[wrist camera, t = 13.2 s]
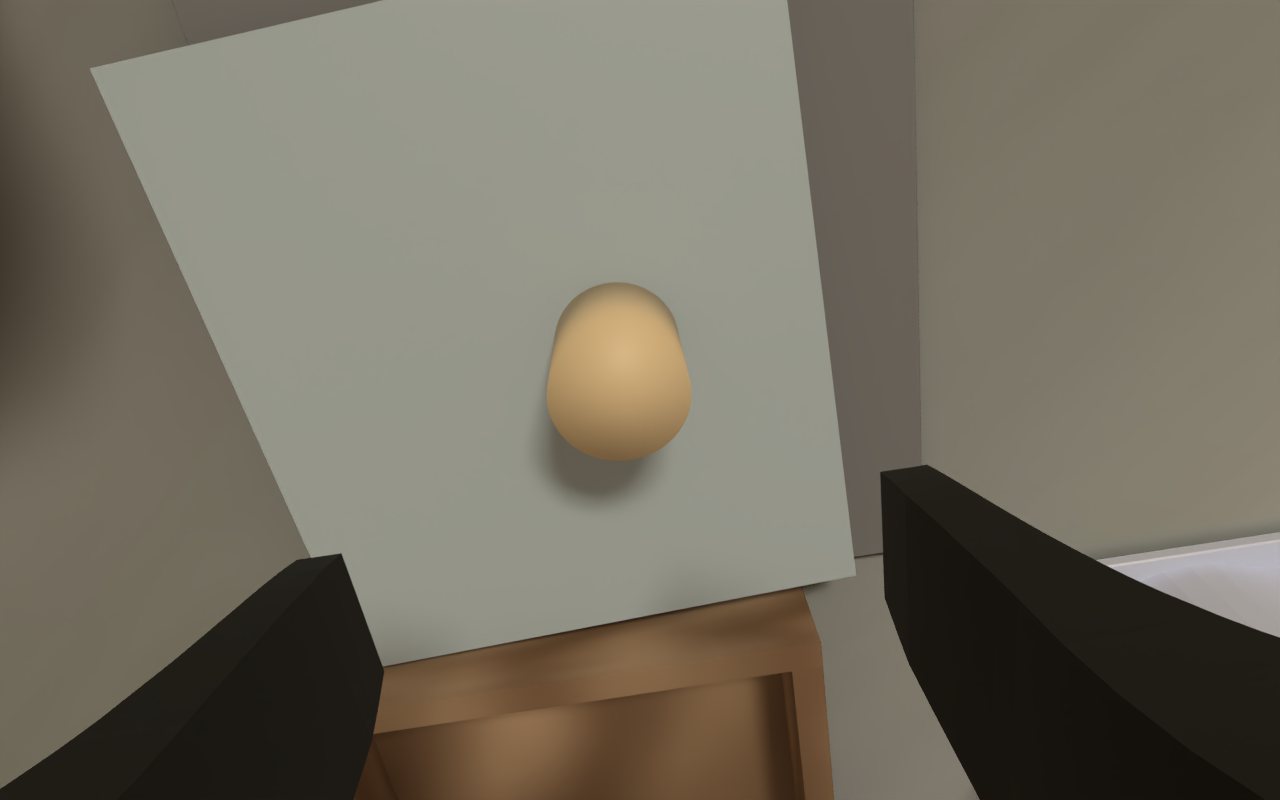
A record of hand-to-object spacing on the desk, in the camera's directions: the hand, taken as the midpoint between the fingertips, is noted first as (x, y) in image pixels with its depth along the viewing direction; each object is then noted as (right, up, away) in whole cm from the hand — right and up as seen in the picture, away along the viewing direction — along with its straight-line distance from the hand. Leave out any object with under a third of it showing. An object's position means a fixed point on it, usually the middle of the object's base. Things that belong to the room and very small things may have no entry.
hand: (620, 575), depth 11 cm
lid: (-2, +4, +8) cm, 9 cm away
